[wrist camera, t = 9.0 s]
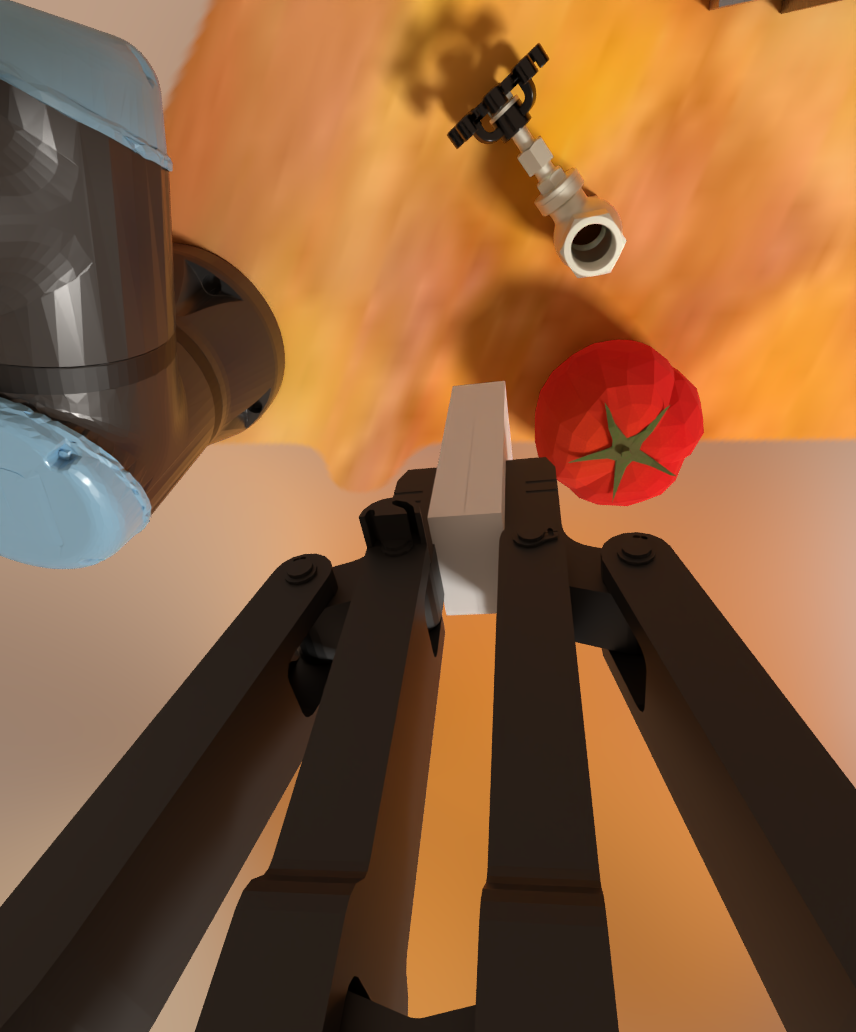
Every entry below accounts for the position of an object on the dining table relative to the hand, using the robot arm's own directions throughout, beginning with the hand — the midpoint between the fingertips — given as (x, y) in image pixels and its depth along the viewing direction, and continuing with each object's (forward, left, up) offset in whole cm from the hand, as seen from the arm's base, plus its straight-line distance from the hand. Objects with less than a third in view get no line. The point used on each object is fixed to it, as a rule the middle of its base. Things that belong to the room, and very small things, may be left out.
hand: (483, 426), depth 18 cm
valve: (+3, +3, -30) cm, 30 cm away
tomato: (+7, -13, -30) cm, 33 cm away
